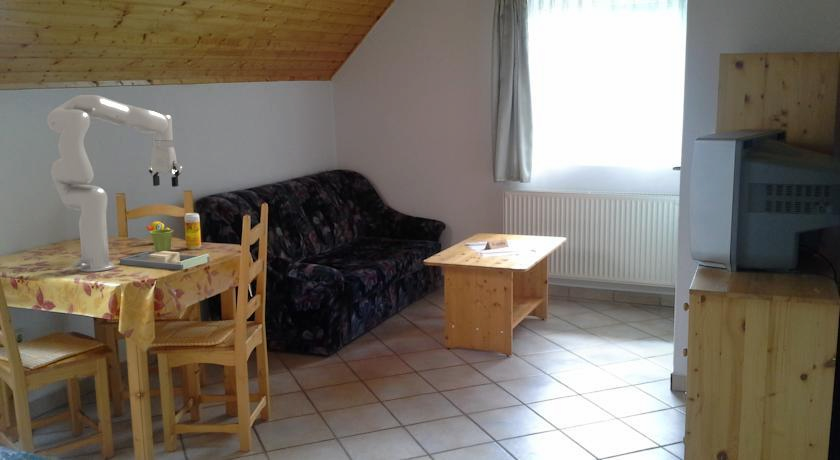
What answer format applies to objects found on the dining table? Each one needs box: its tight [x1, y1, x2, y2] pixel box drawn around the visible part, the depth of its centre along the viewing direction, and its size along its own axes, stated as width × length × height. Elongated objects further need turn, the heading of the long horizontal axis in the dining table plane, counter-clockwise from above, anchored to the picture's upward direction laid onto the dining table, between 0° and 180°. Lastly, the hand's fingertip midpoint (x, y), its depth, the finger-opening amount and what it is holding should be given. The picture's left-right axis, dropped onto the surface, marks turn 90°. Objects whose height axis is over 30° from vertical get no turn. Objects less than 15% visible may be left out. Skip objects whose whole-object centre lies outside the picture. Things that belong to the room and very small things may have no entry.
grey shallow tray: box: [119, 250, 210, 271], centre depth 300 cm, size 16×30×3 cm, turn 67°
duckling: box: [146, 221, 170, 242], centre depth 340 cm, size 11×5×10 cm, turn 140°
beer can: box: [184, 212, 202, 250], centre depth 328 cm, size 6×6×15 cm
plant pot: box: [149, 228, 174, 252], centre depth 322 cm, size 9×9×9 cm
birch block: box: [148, 251, 181, 264], centre depth 300 cm, size 8×8×4 cm
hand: (165, 186), depth 319 cm, fingers open, 9 cm apart
